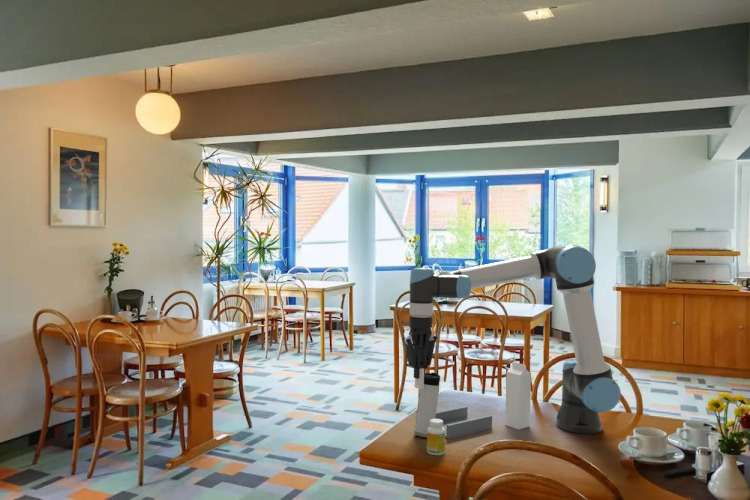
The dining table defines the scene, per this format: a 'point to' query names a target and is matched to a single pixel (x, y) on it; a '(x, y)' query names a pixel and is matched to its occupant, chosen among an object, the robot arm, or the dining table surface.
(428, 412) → the travel mug
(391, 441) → the dining table surface
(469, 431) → the cradle
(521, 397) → the milk
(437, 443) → the supplement bottle
